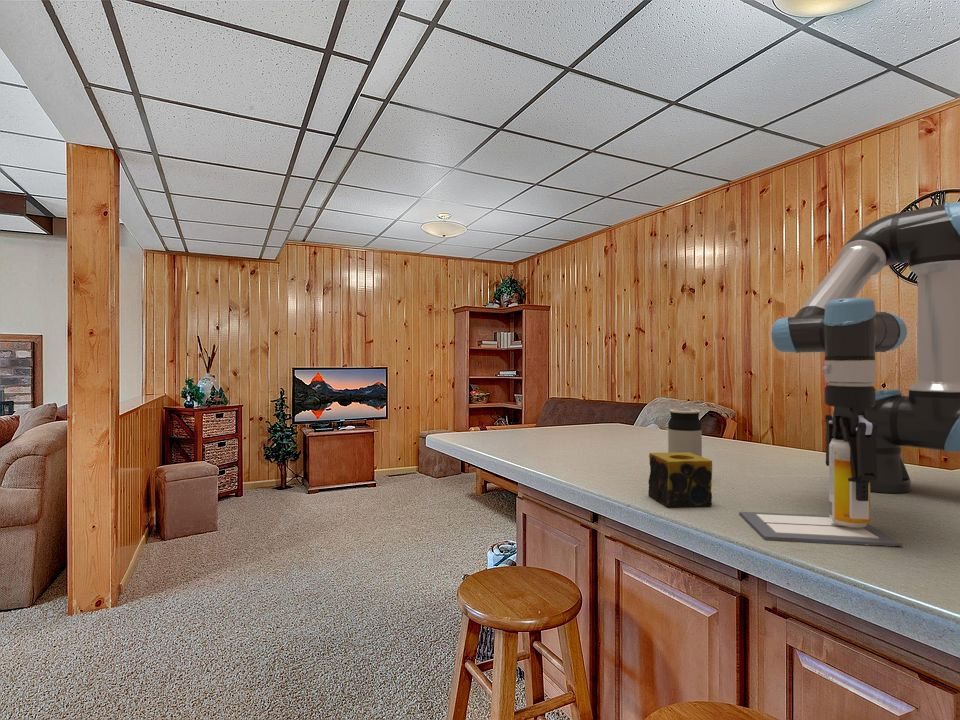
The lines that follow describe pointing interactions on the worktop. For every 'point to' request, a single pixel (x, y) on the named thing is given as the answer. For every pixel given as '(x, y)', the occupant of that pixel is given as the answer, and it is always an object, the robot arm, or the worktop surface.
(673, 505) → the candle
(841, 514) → the beer can
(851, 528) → the blotter
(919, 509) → the worktop surface
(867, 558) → the worktop surface
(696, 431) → the travel mug
